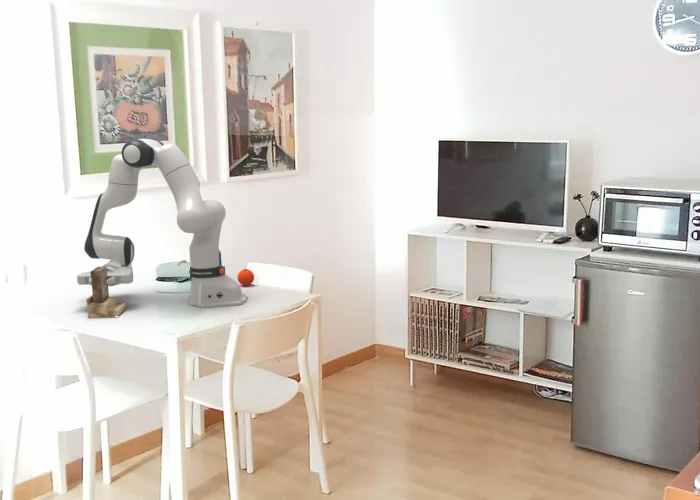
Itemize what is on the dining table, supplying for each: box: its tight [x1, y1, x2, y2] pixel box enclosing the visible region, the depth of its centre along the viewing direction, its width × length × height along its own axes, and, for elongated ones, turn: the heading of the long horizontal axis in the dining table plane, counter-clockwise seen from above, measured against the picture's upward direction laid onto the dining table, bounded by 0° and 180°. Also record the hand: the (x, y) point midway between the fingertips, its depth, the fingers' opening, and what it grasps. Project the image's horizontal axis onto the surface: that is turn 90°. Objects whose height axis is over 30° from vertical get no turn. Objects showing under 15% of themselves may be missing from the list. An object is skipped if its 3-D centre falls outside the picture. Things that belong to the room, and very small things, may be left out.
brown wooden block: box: [90, 266, 110, 303], centre depth 294 cm, size 3×8×12 cm, turn 179°
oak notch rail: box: [86, 294, 128, 319], centre depth 296 cm, size 11×11×7 cm
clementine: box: [237, 268, 255, 287], centre depth 334 cm, size 8×7×7 cm
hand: (98, 282), depth 293 cm, fingers open, 5 cm apart
